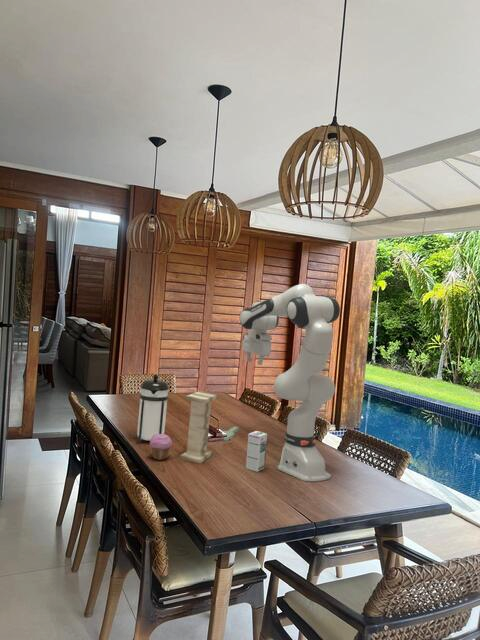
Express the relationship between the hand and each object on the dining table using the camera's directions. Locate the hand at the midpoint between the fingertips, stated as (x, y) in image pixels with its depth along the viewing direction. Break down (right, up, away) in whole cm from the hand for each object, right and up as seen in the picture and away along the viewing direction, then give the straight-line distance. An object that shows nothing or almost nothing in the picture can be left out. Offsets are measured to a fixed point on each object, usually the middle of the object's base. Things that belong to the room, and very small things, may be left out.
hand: (254, 363), depth 236 cm
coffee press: (-48, -34, -16) cm, 61 cm away
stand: (-25, -36, -34) cm, 56 cm away
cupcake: (-40, -35, -40) cm, 66 cm away
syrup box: (-1, -39, -41) cm, 57 cm away
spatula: (-12, -36, +4) cm, 38 cm away
